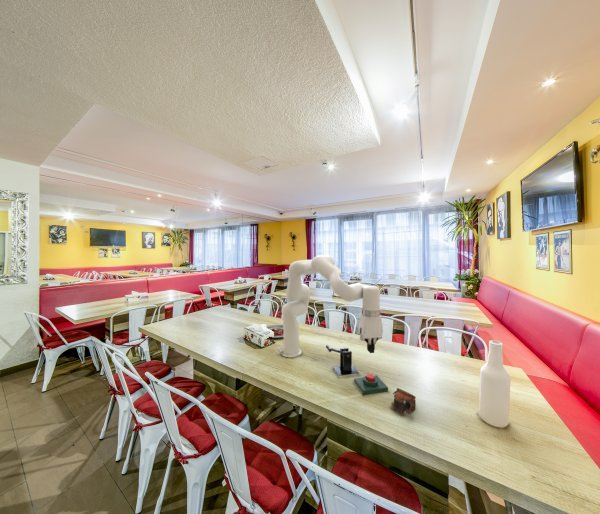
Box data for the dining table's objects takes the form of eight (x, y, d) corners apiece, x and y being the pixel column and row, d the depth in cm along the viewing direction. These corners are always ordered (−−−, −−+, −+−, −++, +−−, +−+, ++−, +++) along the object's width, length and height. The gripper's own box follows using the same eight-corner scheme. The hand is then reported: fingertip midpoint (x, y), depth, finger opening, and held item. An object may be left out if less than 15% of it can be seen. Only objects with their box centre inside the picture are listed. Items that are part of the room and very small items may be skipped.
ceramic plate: (285, 342, 164) (285, 337, 164) (253, 337, 173) (253, 333, 173) (299, 329, 189) (299, 325, 188) (269, 326, 197) (269, 322, 197)
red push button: (368, 382, 110) (368, 378, 109) (365, 378, 113) (365, 374, 113) (376, 381, 110) (376, 377, 110) (372, 377, 114) (372, 373, 114)
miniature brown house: (384, 404, 100) (390, 384, 103) (404, 413, 101) (409, 392, 104) (402, 417, 89) (408, 393, 91) (424, 426, 90) (429, 403, 92)
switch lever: (328, 352, 120) (329, 347, 120) (325, 348, 125) (326, 343, 125) (349, 358, 123) (350, 354, 123) (345, 354, 127) (347, 349, 128)
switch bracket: (339, 378, 120) (338, 355, 119) (332, 369, 129) (332, 347, 128) (359, 375, 122) (359, 352, 121) (352, 366, 131) (352, 345, 130)
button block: (363, 395, 106) (363, 386, 106) (353, 382, 116) (353, 374, 115) (388, 392, 108) (388, 383, 108) (376, 379, 118) (376, 371, 118)
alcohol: (472, 413, 94) (475, 338, 92) (490, 410, 96) (493, 336, 94) (495, 430, 85) (498, 348, 84) (514, 426, 87) (518, 345, 86)
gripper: (381, 309, 115) (381, 347, 116) (352, 311, 112) (352, 350, 113) (390, 313, 108) (390, 353, 109) (359, 316, 105) (359, 357, 106)
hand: (370, 351), depth 111 cm, fingers closed
